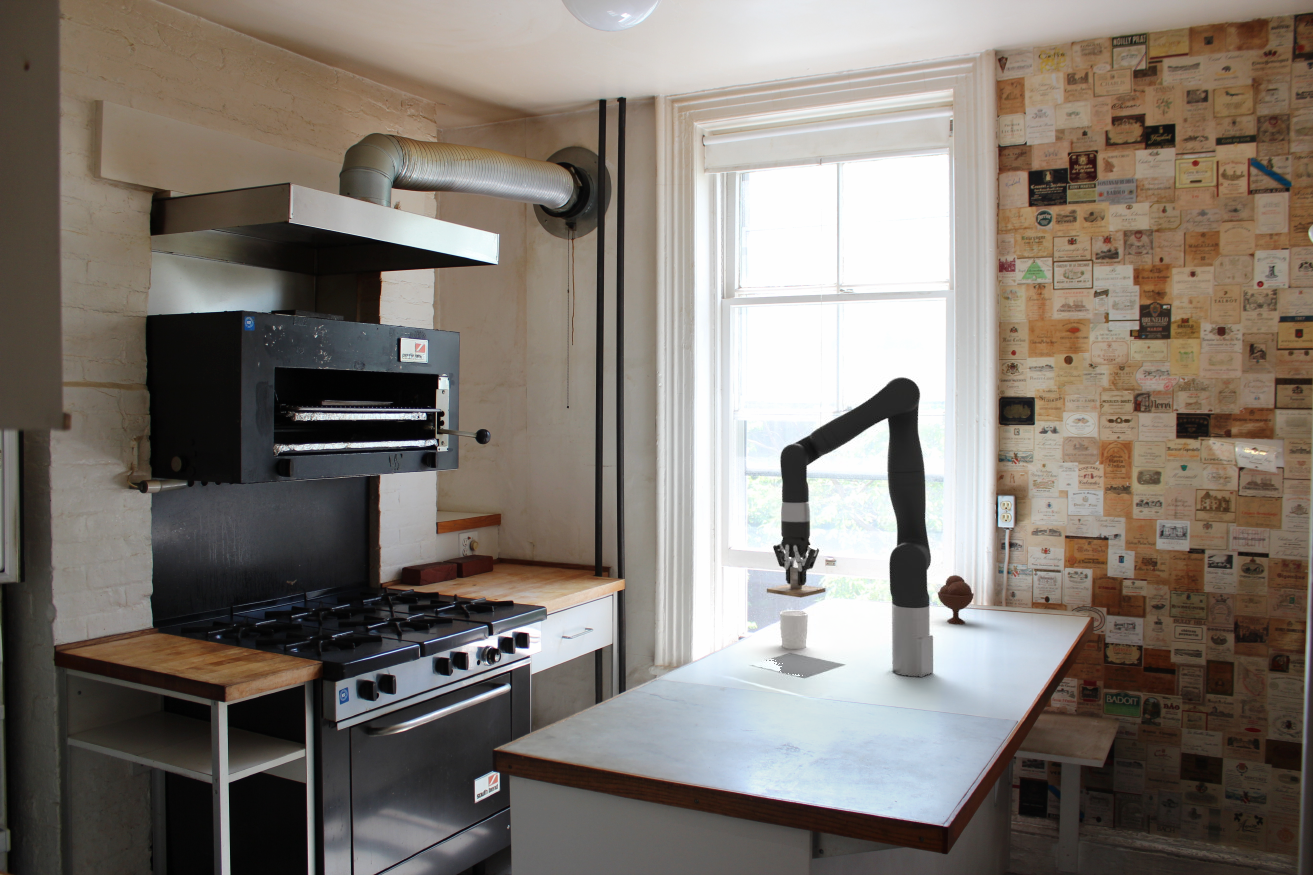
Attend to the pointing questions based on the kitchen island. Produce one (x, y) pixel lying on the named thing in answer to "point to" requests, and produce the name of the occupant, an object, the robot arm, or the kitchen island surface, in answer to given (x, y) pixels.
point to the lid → (795, 587)
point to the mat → (803, 665)
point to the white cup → (793, 628)
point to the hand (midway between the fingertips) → (795, 583)
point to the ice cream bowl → (955, 597)
